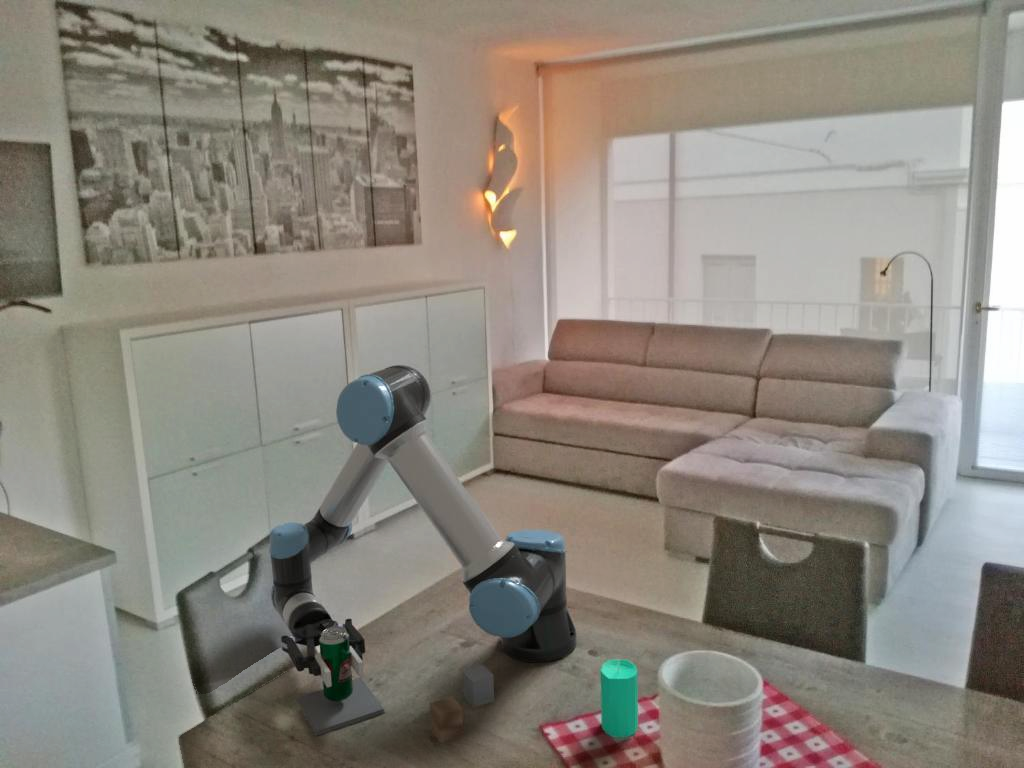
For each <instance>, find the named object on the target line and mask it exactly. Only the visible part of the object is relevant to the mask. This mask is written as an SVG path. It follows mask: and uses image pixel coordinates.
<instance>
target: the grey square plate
mask: <svg viewBox="0 0 1024 768" xmlns="http://www.w3.org/2000/svg"><path fill="white" fill-rule="evenodd" d="M352 683H353V692H352V694H351V695H350V696H349V697H348V698H347V699H345V700H342V701H338V702H334V701H330V700H328V699H327V698H325V696H324V692H323V688H322V689H319V690H315V691H312V692H309V693H306V694H303V695H299V696H296V702H297V703H298V706H299V707H300V709H301V711H302V712H304V713H303V714H305V715H304V716H305V718H306V720H307V722H308V723H310V724H309V725H310V727H311V730H312V731H313V733H314V735H315V734H316V735H317V736H319V735H323V734H325V733H329V732H332V731H335V730H337V729H338V730H339V729H340V728H344V727H347V726H349V725H353V724H355V723H358V722H361V721H364V720H367V719H370V718H373V717H377V716H380V715H383V714H385V709H384V706H382V704H381V703H380V702H379V700H378V699H377V697H376V696H375V695H374V693H373V692H372V690H371V689H370V688H369V686H368V685H367V683H365V681H364V680H363V677H357V678H355V679H352ZM328 731H329V732H328ZM316 735H315V736H316Z"/></svg>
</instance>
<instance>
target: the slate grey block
mask: <svg viewBox="0 0 1024 768" xmlns="http://www.w3.org/2000/svg"><path fill="white" fill-rule="evenodd" d="M462 679H463V680H462V681H463V683H462V684H463V698H465V700H466V701H467V702H468V703H469V704H470V705H471V707H473V708H474V709H476V708H477V707H480V706H484V705H486V704H489V703H492V702H495V685H494V683H495V682H494V674H493V673H492V672H490V670H489V669H488V668H487V667H485V666H484V665H483V664H481V665H478V666H476V667H472V668H470V669H467V670H463V671H462Z"/></svg>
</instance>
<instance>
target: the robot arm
mask: <svg viewBox="0 0 1024 768" xmlns="http://www.w3.org/2000/svg"><path fill="white" fill-rule="evenodd" d="M430 388H431V387H430V385H429V382H428V381H427V379H426V378H425V376H424V375H423V374H422V373H421V372H420V371H419V370H417V369H415V368H413V367H411V366H408V365H404V364H403V365H402V364H396V365H390V366H388V367H386V368H384V369H380V370H377V371H374V372H371V373H369V374H368V373H367V374H364V375H361V376H359V377H358V378H356V379H354V380H352V381H351V382H349V383H348V384H347V385H346V386H345V387H343V389H342V391H341V392H340V394H339V395H338V398H337V403H336V408H335V410H336V420H337V423H338V426H339V429H340V430H341V431H342V433H343V435H344V436H345V437H346V438H347V439H348V440H349V441H351V442H353V443H355V444H356V445H355V447H354V448H353V450H352V452H351V453H350V455H349V457H348V458H347V460H346V462H345V464H344V465H343V467H342V468H341V470H340V472H339V474H338V475H337V477H336V478H335V481H334V482H333V484H332V485H331V487H330V489H329V491H328V492H327V494H326V495H325V497H324V499H323V501H322V503H321V504H320V506H319V507H318V510H317V511H316V513H315V514H314V516H313V518H311V519H310V520H309V521H308V522H306V523H304V524H303V523H300V522H287V523H283V524H281V525H280V524H279V525H277V526H274V527H273V529H271V531H270V532H269V554H270V561H271V569H272V581H273V583H272V584H273V585H272V587H271V589H270V599H271V602H272V606H273V608H274V609H275V611H276V612H277V613H278V615H279V616H280V617H281V619H282V621H283V622H284V623H285V626H286V627H287V629H288V630H289V632H290V633H291V636H288V635H282V636H281V637H280V641H281V649H282V651H283V652H285V653H287V654H288V656H289V658H290V660H291V661H292V663H293V665H294V667H295V669H296V671H298V672H304V670H305V669H308V674H309V675H313V676H314V677H317V676H320V678H321V680H322V682H323V681H324V683H325V685H326V686H327V687H331V686H332V683H331V671H330V670H329V668H328V667H327V665H326V664H325V662H324V661H323V659H322V658H321V656H320V654H315V652H316V649H315V647H320V644H319V639H320V637H321V632H322V631H323V630H325V629H327V628H330V627H335V626H339V627H343V628H345V629H346V632H347V633H348V635H349V643H350V657H351V668H352V669H353V670H354V671H355V673H356V674H357V675H358V678H360V677H361V678H363V677H365V672H364V661H363V659H364V658H363V654H365V653H366V641H365V638H364V636H363V635H362V634H361V633H360V632H359V631H358V630H357V628H356V627H355V626H354V625H353V621H352V620H353V619H352V618H346V619H345V621H344V622H342V623H338V621H337V620H333V619H332V617H331V615H330V613H329V612H328V611H327V610H326V608H325V607H324V605H323V604H322V603H321V602H320V601H319V599H318V598H317V597H316V595H315V594H314V591H313V581H312V567H311V566H312V563H313V562H315V561H316V560H318V559H319V558H321V557H322V556H324V555H325V554H326V553H328V552H330V551H331V550H332V549H334V548H335V547H338V546H339V545H341V544H343V542H344V541H345V540H346V539H348V538H349V536H350V535H351V533H352V530H353V521H354V520H355V518H356V516H357V515H358V513H359V511H360V509H362V506H363V504H364V503H365V501H366V500H367V498H368V496H369V495H370V493H371V492H372V491H373V488H374V487H375V485H376V484H377V482H378V481H379V479H380V478H381V476H382V474H383V473H384V471H385V469H387V468H386V467H387V466H388V464H389V465H390V466H391V468H392V469H393V470H394V471H395V473H396V474H397V476H398V478H399V479H400V480H401V482H402V483H403V485H404V486H405V487H406V489H407V490H408V491H409V492H408V493H410V494H411V496H412V497H413V499H414V500H415V502H416V503H417V504H418V506H419V508H420V509H421V510H422V512H423V513H424V514H425V516H426V517H427V519H428V520H429V522H430V523H431V524H432V526H433V528H434V529H435V531H436V532H437V533H438V534H439V536H440V538H441V539H442V540H443V542H444V543H445V545H446V546H447V548H448V549H449V551H450V552H451V553H452V555H453V556H454V557H455V559H456V560H457V561H458V563H459V565H460V566H461V568H462V574H461V582H462V584H463V585H464V587H465V588H466V590H467V591H468V592H469V594H470V595H469V598H468V601H469V605H468V610H469V613H470V616H471V618H472V620H473V621H474V623H475V624H476V625H477V626H478V627H479V628H480V629H481V630H482V631H484V632H485V633H487V634H489V635H491V636H495V637H500V646H501V649H502V651H503V652H504V653H505V654H506V655H508V656H509V657H511V658H513V659H515V660H519V661H522V662H523V661H524V662H529V663H530V662H531V663H545V662H552V661H556V660H559V659H562V658H564V657H566V656H568V655H570V654H571V653H573V651H574V650H575V648H577V631H576V627H575V624H574V621H573V619H572V617H571V614H570V612H569V611H570V610H569V608H568V605H567V604H568V603H567V565H566V564H567V562H566V561H567V559H566V558H567V556H566V554H567V550H566V544H565V539H564V537H563V536H562V535H561V534H560V533H557V532H554V531H552V530H551V531H550V530H543V529H521V530H516V531H513V532H510V533H509V534H507V535H506V536H505V540H503V539H502V538H501V537H500V536H499V534H498V533H497V532H496V530H495V529H494V527H493V526H492V525H491V523H490V522H489V521H488V519H487V518H486V516H485V515H484V513H483V512H482V510H481V509H480V508H479V507H478V504H477V503H476V502H475V500H474V499H473V497H471V495H470V493H469V492H468V491H467V489H466V487H465V486H464V485H463V483H462V482H461V480H460V479H459V478H458V476H457V475H456V473H455V472H454V470H453V469H452V468H451V466H450V465H449V463H448V462H447V460H446V459H445V458H444V456H443V455H442V453H441V452H440V451H439V449H438V448H437V446H436V445H435V443H434V442H433V441H432V440H431V438H430V437H429V435H428V434H427V433H428V432H427V429H428V419H427V418H426V416H425V415H426V413H427V411H428V410H429V406H430V403H431V400H432V398H431V389H430ZM298 645H301V646H306V651H307V656H306V657H305V656H304V655H303V653H302V652H301V649H300V648H299V646H298Z"/></svg>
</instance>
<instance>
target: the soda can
mask: <svg viewBox="0 0 1024 768" xmlns="http://www.w3.org/2000/svg"><path fill="white" fill-rule="evenodd" d="M319 644H320V645H319V653H320V654H319V655H320V656H321V658H322V659H323V661H324V662H325V664H326V665H327V667H328V668H329V670H330V671H331V683H332V686H331V687H327V686H326V685H325V683H324V681H323V680H322V689H323V692H324V696H325V698H327V699H328V700H330V701H334V702H338V701H342V700H345V699H347V698H348V697H349V696H350V695H351V694H352V692H353V683H352V680H353V671H352V666H351V657H350V643H349V635H348V633H347V632H346V629H345V628H343V627H339V626H335V627H330V628H327V629H325V630H323V631H322V632H321V637H320V639H319Z"/></svg>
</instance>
